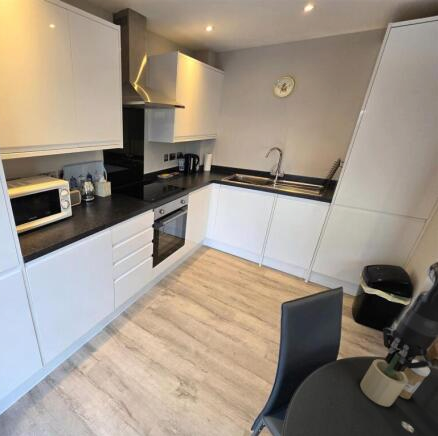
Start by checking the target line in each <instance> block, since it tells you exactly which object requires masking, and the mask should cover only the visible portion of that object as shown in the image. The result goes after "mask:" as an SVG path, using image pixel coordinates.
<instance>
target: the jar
mask: <svg viewBox="0 0 438 436" xmlns="http://www.w3.org/2000/svg"><path fill="white" fill-rule="evenodd" d="M387 366H388V364H387V363H386V359H385V360H384V359H381V358H376V359H374V360H373V361H372V363H371V365H370V366H369V368H368V370H367V371H366V372H365V374H364V375H363V378H362V379H361V382H360V384H359V385H360V388H361V391H362V392H363V394H364V395H365V396H366V397H367V398H368V399H370V400H371V402H374V403H375V404H376V405H379V406H382V407H391V406H392V405H393V404H394V403H395V401H396V400H397V398H398V397H399V394H400V393H401V391H402V390H403V388H404V387H405V386H406V384H407V382H408V379H407V377H406V375H405V374H404V373H403V372H395V373H394V375H393V376H392V378H389V377H387V376H386V375H385V374H383V372H384V371H385V369H386V368H387Z"/></svg>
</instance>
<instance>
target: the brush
mask: <svg viewBox="0 0 438 436" xmlns="http://www.w3.org/2000/svg"><path fill="white" fill-rule="evenodd" d="M400 358H401V352H400V353H396V354H395V355H394V357H393V358H392V360H391V361H390V363H389V364H388V366H387V368H386V369H385V371H384V372H383V374H385V375H386V376H387V377H389V378H392V376H393V375H394V373H395V372H396V371H395V370H394V369H393V368H394V366H395V365H396V363H397V362H398V361H399V360H400Z"/></svg>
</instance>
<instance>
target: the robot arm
mask: <svg viewBox="0 0 438 436" xmlns="http://www.w3.org/2000/svg"><path fill="white" fill-rule="evenodd" d="M426 274H427V276H428V278H429V280H431V282H432V286H431V287H430V289H429V290H422V291H420V292H419V293H418V294H417V295H416V296H415V298H414V299H413V301H412V303H411V305H410V306H409V307H408V308H407V309H406V311H405V312H404V313H403V315H402V317H401V319H400V320H399V322H398V323H397V325H396V327H395V329H393V328H392V327H383V328H382V336H383V337H382V338H383V346H384V348H387V351H388V353H387V354H386V356H385V361H386V363H387V364H389V363H390V361H391V360H392V358H393V357H394V355H395V354H396V353H400V354H401V358H400V360H399V361H398V362H397V363H396V365H395V366H394V368H393V369H394V370H395V371H396V372H404V371H405V369H406V368H424V367H428V368H431V367H435V365H436V364H435V362H434V361H432V360H430V359H429V358H428V356H427V355H428V350H429V348H430V347H431V346H432V345H433V344H434V342H435V341H436V339H437V338H438V261H436V262H433V263H432V264H431V265H429V266H428V268H427V271H426ZM417 357H419V358H418V362H414V363H412V360H416V358H417Z"/></svg>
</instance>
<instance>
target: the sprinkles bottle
mask: <svg viewBox="0 0 438 436" xmlns="http://www.w3.org/2000/svg"><path fill="white" fill-rule="evenodd" d="M418 360H419V359H418ZM418 360H417V359H413V360H412V363H414V362H418ZM403 373H404V374H405V375H406V377H407V379H408V382H407V384H406V386H405V387H404V388H403V390H402V391H401V393H400V394H399V395H398V397H400V398H403V399H406V400H409V399H411V398H412V395H414V393H415V392H416V391H417V390H418V388H419V387H420V385H421V384H422V383H423V382H424V380H425V378H426V377H428V376H429V375H430V373H431V369H430V367H424V368H406V369H405V371H404V372H403Z"/></svg>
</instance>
